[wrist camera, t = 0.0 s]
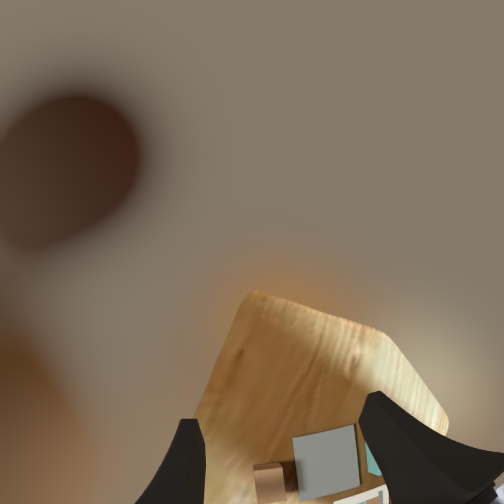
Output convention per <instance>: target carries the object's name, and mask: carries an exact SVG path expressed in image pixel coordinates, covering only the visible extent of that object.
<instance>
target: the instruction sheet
mask: <svg viewBox="0 0 504 504" xmlns="http://www.w3.org/2000/svg"><path fill="white" fill-rule="evenodd" d="M334 504H389V495H388V489H387V486H386V484H384V485H382V486H379V487H377V488H374V489H371V490H368V491H366V492H363V493H360V494H357V495H354V496H351V497H347V498H344V499H341V500H337V501H334Z"/></svg>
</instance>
